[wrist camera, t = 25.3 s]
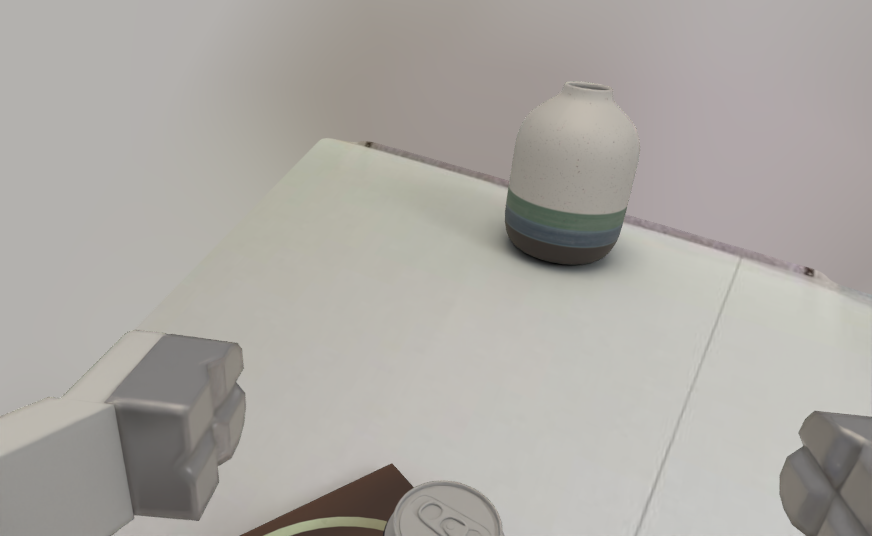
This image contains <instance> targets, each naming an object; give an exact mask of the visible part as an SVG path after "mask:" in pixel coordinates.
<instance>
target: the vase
mask: <svg viewBox="0 0 872 536" xmlns="http://www.w3.org/2000/svg"><path fill="white" fill-rule="evenodd" d="M639 154H640V143H639V136H638V132H637V129H636V127H635V125H634V124H633V122H632V121H631V119H630V118H629V117H628V116H627V115H626V114H625V113H624V112H623V110H622V109H621V108H620V107H619V106H618V105H617V104H616V103H615V101H614V99H613V89H612V88H610V87H608V86H604V85H600V84H595V83H588V82H575V81H573V82H566V83H565V84H564V87H563V89H562V91H561V92H560V93H559V94H558V95H556V96H555V97H553V98H551V99H550V100H548V101H546V102H544V103H542V104H541V105H539V106H538V107H536V108H535V109H534V110H532V111H531V112H530V113H529V114H528V115H527V117H526V118H525V120H524V121H523V123H522V125H521V127H520V129H519V132H518V135H517V138H516V143H515V148H514V155H513V161H512V168H511V174H510V181H509V187H508V194H507V202H506V210H505V225H506V230H507V233H508V236H509V238H510V240H511V241H512V242H513V244H514V245H515V246H516V247H518V248H519V249H520V250H522V251H523V252H525V253H527V254H529V255H531V256H533V257H536V258H538V259H541V260H544V261H548V262H553V263H559V264H571V265H576V264H587V263H591V262H594V261H597V260H599V259H601V258H603V257H605V256H606V255H607V254H608V253H609V252H610V251H611V249H612V248H613V246H614V245H615V243H616V242H617V240H618V237H619V235H620V231H621V228H622V224H623V221H624V217H625V213H626V209H627V205H628V201H629V197H630V193H631V189H632V185H633V181H634V177H635V173H636V169H637V165H638V160H639Z"/></svg>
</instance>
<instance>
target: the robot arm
mask: <svg viewBox="0 0 872 536" xmlns="http://www.w3.org/2000/svg"><path fill="white" fill-rule="evenodd" d="M243 369H244V365H243V354H242V348H241V347H240V346H239V344H238V343H234V342H227V341H219V340H212V339H205V338H197V337H190V336H183V335H176V334H166V333H160V332H151V331H143V330H133V331H129V332H127V333H125V334H124V335H123V336H122V337H121V338H120V339H119V340H118V341H117V342H116V343H115V344H114V346H112V347H111V348H110V349H109V350H108V351H107V352H106V353H105V354H104V355H103V356H102V357H101V358H100V359H99V360H98V361H97V362H96V363H95V364H94V365H93V366H92V367H91V368H90V369H89V370H88V371H87V372H86V373H85V374H84V375H83V376H82V377H81V378H80V379H79V380H78V381H77V382H76V383H75V384H74V385H73V386H72V387H71V388H70V389H69V390H68V391H67V392H66V393H65V394H64V395H63V396H62V397H61V398H55V397H47V398H45V399H42V400H40V401H37V402H35V403H32V404H30V405H28V406H25V407H23V408H20V409H17V410H15V411H12V412H10V413H7V414H5V415H2V416H0V536H111V535H113V534H114V533H115V532H117V531H118V530H119V529H121V528H122V527H123V526H125V525H126V524H128V523H129V522H130V521H132V520H133V519H134V515H140V516H151V517H162V518H173V519H183V520H194V521H199V520H200V518H201V516H202V514H203V512H204V510H205V508H206V506H207V504H208V502H209V501H210V499H211V497H212V495H213V493H214V491H215V489H216V487H217V485H218V483H219V475H218V466H219V465H221V464H223V463H224V462H226V461H227V460H229V459H231V458H232V456H233V454H234V452H235V450H236V448H237V446H238V444H239V441H240V437H241V433H242V430H243V426H244V421H245V411H246V399H245V392H244V391H243V390H242V389H241V388H240V386H239V385H238V384H237V383H236V381H237V379H238V377H239V376H240V374H241V372H242V371H243ZM799 436H800V438H801V441H802V443H803V447H801V448H800V449H798V450H797V451H795V452H794V453H792V454H791V455H789V456H788V457H787V458H786V461H785V463H784V466H783V468H782V471H781V473H780V498H781V501H782V505H783V508H784V511H785V512H786V514H787V516H788V518H789V520H790V522H791V523H792V525H793V526H795V527H796V528H797V529H798V530H800V531H801V532H802V533H803V534H805V535H806V536H872V417H868V416H859V415H849V414H840V413H830V412H821V411H814V412H813V413H812V414H810V415H809V416H808V417H807V418H806V419H805V420H804V423H803V425H802V427H801V429H800V431H799Z"/></svg>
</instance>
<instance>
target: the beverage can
mask: <svg viewBox="0 0 872 536" xmlns="http://www.w3.org/2000/svg"><path fill="white" fill-rule="evenodd" d="M383 536H504V534H503V530H502V523H501V519H500V516H499V514H498V512H497V510H496V508H495V507H494V505H493V504H492V503H491V502H490V500H489V499H488V498H486V497H485V496H484V495H483V494H482V493H480V492H479V491H477V490H476V489H474V488H472V487H470V486H467V485H465V484H462V483H458V482H454V481H432V482H427V483H424V484H421V485H419V486H416V487H414V488H413V489H411V490H410V491H408V492H407V493H406V494H405V495H404V496H403V497H402V498H401V499H400V501H399V502H398V504H397V506H396V508H395V511H394V513H393V514H392V515H391V517H390V518H389V520H388V521H387V523H386V526H385V528H384V532H383Z"/></svg>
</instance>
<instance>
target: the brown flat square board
mask: <svg viewBox="0 0 872 536" xmlns="http://www.w3.org/2000/svg"><path fill="white" fill-rule="evenodd" d="M413 488H414V487H413V486H412V485H411V484H410V483H409V482H408V481H407V479H406V478H405V477H404V476H403V475H402V474H401V473H400V472H399V470H398V469H397V468H396V467H395V466H394V465H393V464H390V465H387V466H385V467H383V468H381V469H379V470H377V471H375V472H373V473H371V474H369V475H366V476H364V477H362V478H360V479H358V480H356V481H354V482H352V483H350V484H347V485H345V486H343V487H341V488H339V489H337V490H335V491H333V492H331V493H329V494H326V495H324V496H322V497H320V498H318V499H316V500H314V501H312V502H310V503H308V504H305V505H303V506H301V507H299V508H297V509H295V510H293V511H291V512H289V513H286V514H284V515H282V516H280V517H278V518H276V519H274V520H272V521H270V522H268V523H265V524H263V525H261V526H259V527H257V528H255V529H253V530H251V531H249V532H247V533H244V534H242V535H240V536H383V532H384V528H385V526H386V523H387V521H388V520H389V518H390V517H391V515H392V514H393V513H394V511H395V508H396V506H397V504H398V502H399V501H400V499H401V498H402V497H403V496H404V495H405V494H406V493H407V492H408V491H410V490H411V489H413Z"/></svg>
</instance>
